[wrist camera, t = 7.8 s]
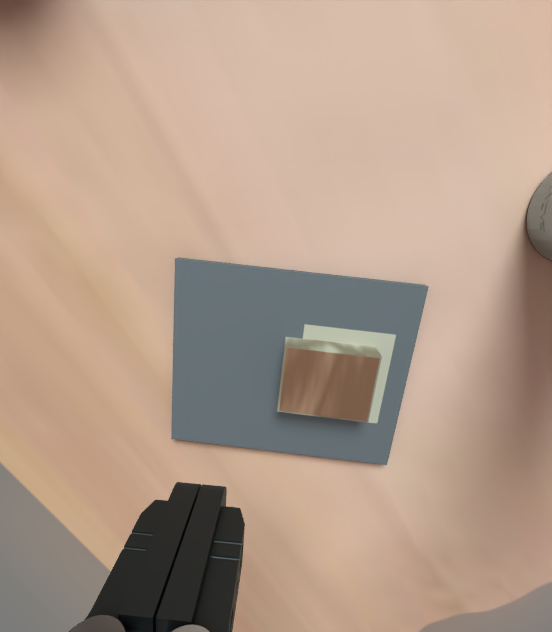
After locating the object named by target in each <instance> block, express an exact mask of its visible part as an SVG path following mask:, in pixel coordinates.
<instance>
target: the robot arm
mask: <svg viewBox="0 0 552 632" xmlns="http://www.w3.org/2000/svg"><path fill="white" fill-rule="evenodd" d="M527 231H528V235H529V239H530V240H531V242H532V244H533V246H534V248H535V249H536V250H537V251H538V252H539V253H540V254H541V255H543V256H544V257H546V258H547V259H549V260H552V173H550V174H549V175H548V176H547V177H546V178H545V180H544V181H543V182H542V183H541V184H540V185H539V187H538V189H537V190H536V192H535V193H534V195H533V197H532V200H531V202H530V205H529V208H528V214H527ZM244 527H245V524H244V520H243V517H242V513H241V510H240V508H234V507H226V487H222V486H212V485H201V484H191V483H181V482H177V483H176V484H175V486H174V488H173V491H172V493H171V495H170V497H169V500H168V501H163V500H155V501H154V502H153V503H152V504H151V505H150V506H149V507H147V508H146V509H145V510H144V511H143V512H142V513H141V515H140V517H139V519H138V521H137V522H136V524H135V526H134V528H133V530H132V534H131V535H130V536H129V538H128V540H127V542H126V544H125V546H124V549H123V550H122V551H121V553H120V555H119V557H118V559H117V561H116V563H115V565H114V567H113V569H112V571H111V573H110V575H109V577H108V579H107V580H106V583H105V584H104V586H103V588H102V590H101V592H100V594H99V596H98V598H97V600H96V602H95V604H94V606H93V608H92V610H91V611H90V613H89V615H88V616H87V618H86V619H85V620H84V621H82V622H81V623H79V624H77V625H76V626H75V627H73V628H72V629H71V630H70V631H69V632H232V629H233V622H234V615H235V608H236V601H237V595H238V588H239V581H240V574H241V567H242V557H243V542H244Z"/></svg>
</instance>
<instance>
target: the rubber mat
mask: <svg viewBox="0 0 552 632" xmlns="http://www.w3.org/2000/svg"><path fill="white" fill-rule="evenodd" d="M427 291H428V286H425V285H420V284H411V283H402V282H393V281H384V280H375V279H366V278H357V277H348V276H339V275H330V274H321V273H312V272H303V271H294V270H285V269H276V268H267V267H258V266H249V265H240V264H231V263H222V262H213V261H204V260H195V259H186V258H176V259H175V289H174V339H173V388H172V437H171V439H177V440H186V441H194V442H202V443H210V444H218V445H227V446H235V447H243V448H251V449H259V450H268V451H276V452H284V453H292V454H300V455H309V456H317V457H325V458H333V459H341V460H350V461H358V462H366V463H374V464H382V465H387V462H388V458H389V454H390V449H391V445H392V441H393V436H394V432H395V428H396V424H397V419H398V415H399V411H400V406H401V402H402V398H403V394H404V389H405V385H406V381H407V376H408V372H409V368H410V363H411V359H412V355H413V351H414V346H415V342H416V338H417V333H418V329H419V325H420V321H421V316H422V312H423V308H424V303H425V299H426V295H427ZM285 337H293V338H302V339H310V340H319V341H328V342H336V343H345V344H354V345H362V346H371V347H376V348H377V350H378V351H379V353H380V354H381V356H382V359H381V363H380V368H379V373H378V378H377V383H376V388H375V393H374V397H373V402H372V407H371V412H370V417H369V422H361V421H353V420H344V419H336V418H328V417H319V416H311V415H303V414H294V413H286V412H277V406H278V396H279V387H280V379H281V371H282V362H283V354H284V345H285Z"/></svg>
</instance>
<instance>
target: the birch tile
mask: <svg viewBox="0 0 552 632" xmlns="http://www.w3.org/2000/svg"><path fill="white" fill-rule="evenodd" d="M381 359H382V356H381V354H380V353H379V351H378V350H377V348H376V347H371V346H362V345H354V344H345V343H336V342H328V341H319V340H310V339H302V338H293V337H285V345H284V354H283V362H282V371H281V379H280V387H279V396H278V406H277V412H286V413H294V414H303V415H311V416H319V417H328V418H336V419H344V420H353V421H361V422H369V417H370V412H371V407H372V402H373V397H374V393H375V388H376V383H377V378H378V373H379V368H380V363H381Z"/></svg>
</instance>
